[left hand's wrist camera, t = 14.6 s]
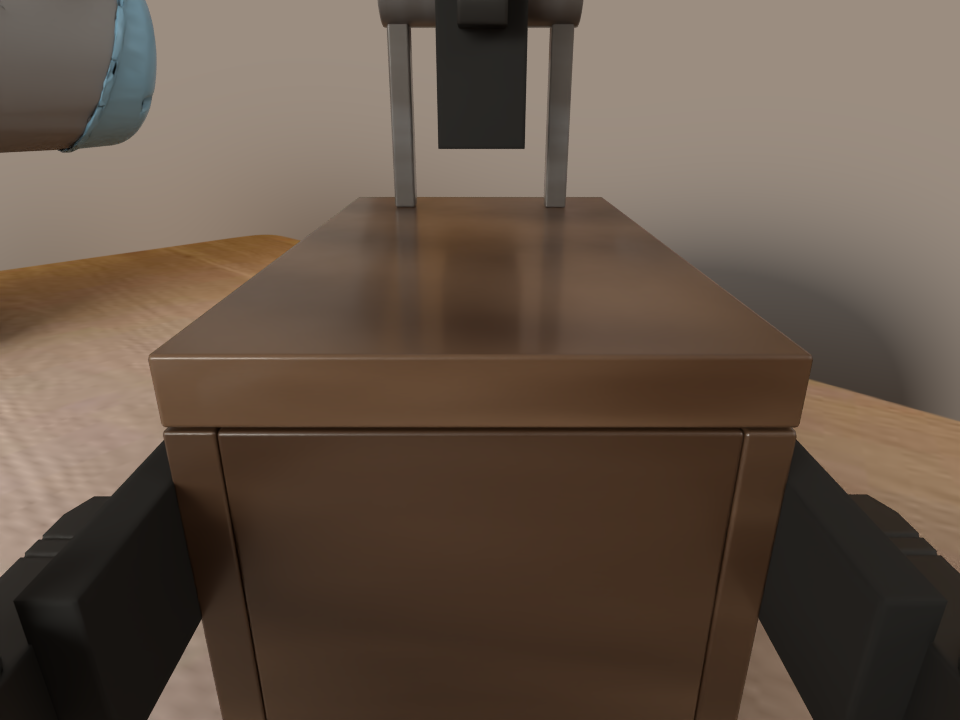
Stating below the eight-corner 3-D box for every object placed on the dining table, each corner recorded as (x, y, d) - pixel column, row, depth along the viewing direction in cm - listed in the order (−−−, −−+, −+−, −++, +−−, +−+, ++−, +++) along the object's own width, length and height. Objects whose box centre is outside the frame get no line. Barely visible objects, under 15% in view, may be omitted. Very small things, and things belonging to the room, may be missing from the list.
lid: (359, 227, 25) (341, -36, 22) (600, 227, 25) (619, -36, 22) (159, 429, 9) (-13, -398, 6) (800, 429, 9) (975, -400, 6)
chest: (371, 438, 28) (356, 231, 24) (589, 438, 28) (604, 231, 24) (244, 828, 13) (160, 432, 9) (716, 828, 13) (799, 432, 9)
